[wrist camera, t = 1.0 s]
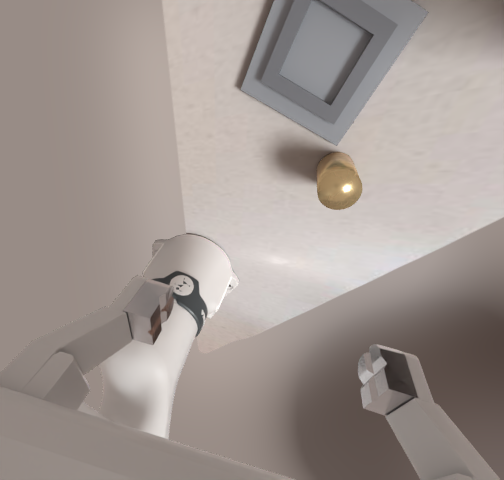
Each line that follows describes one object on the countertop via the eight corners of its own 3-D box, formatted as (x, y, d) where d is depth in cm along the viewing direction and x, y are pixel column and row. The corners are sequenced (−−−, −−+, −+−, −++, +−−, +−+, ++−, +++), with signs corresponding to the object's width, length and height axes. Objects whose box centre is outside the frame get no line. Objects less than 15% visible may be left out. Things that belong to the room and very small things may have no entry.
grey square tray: (336, 143, 33) (337, 147, 31) (242, 89, 31) (238, 90, 30) (425, 13, 24) (432, 10, 23) (302, -70, 23) (301, -80, 21)
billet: (338, 192, 36) (343, 216, 31) (309, 176, 36) (309, 197, 30) (362, 163, 34) (372, 183, 28) (330, 145, 33) (334, 162, 27)
